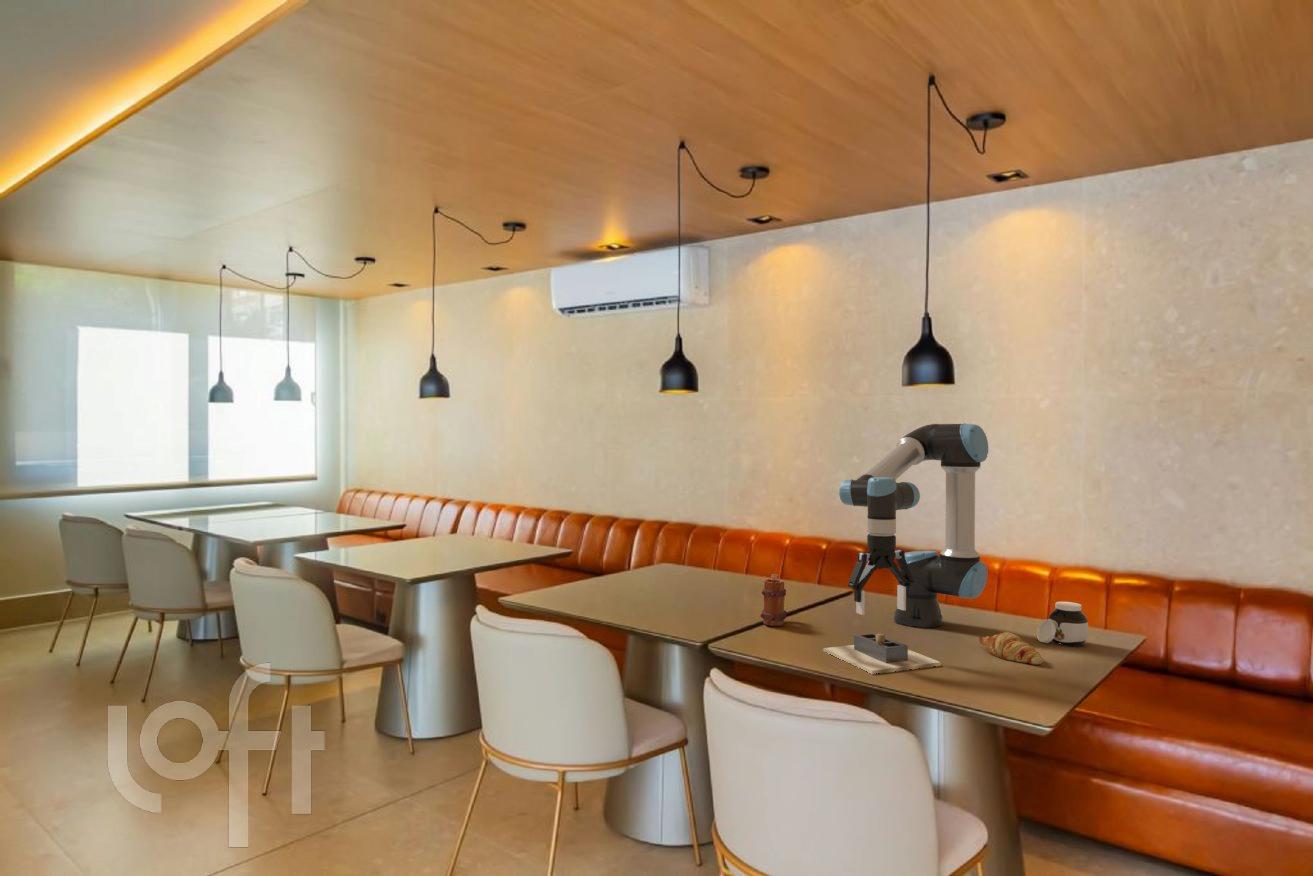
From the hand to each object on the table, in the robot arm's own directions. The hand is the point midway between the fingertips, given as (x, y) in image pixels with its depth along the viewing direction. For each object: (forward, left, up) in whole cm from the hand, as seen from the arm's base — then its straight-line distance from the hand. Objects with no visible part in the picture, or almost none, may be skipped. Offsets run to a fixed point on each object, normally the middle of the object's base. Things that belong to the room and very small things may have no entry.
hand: (881, 611), depth 214 cm
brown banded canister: (+7, -45, -13) cm, 47 cm away
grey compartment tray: (0, 0, -12) cm, 12 cm away
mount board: (0, 0, -13) cm, 13 cm away
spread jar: (-61, +5, -13) cm, 62 cm away
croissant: (-35, +11, -13) cm, 39 cm away
